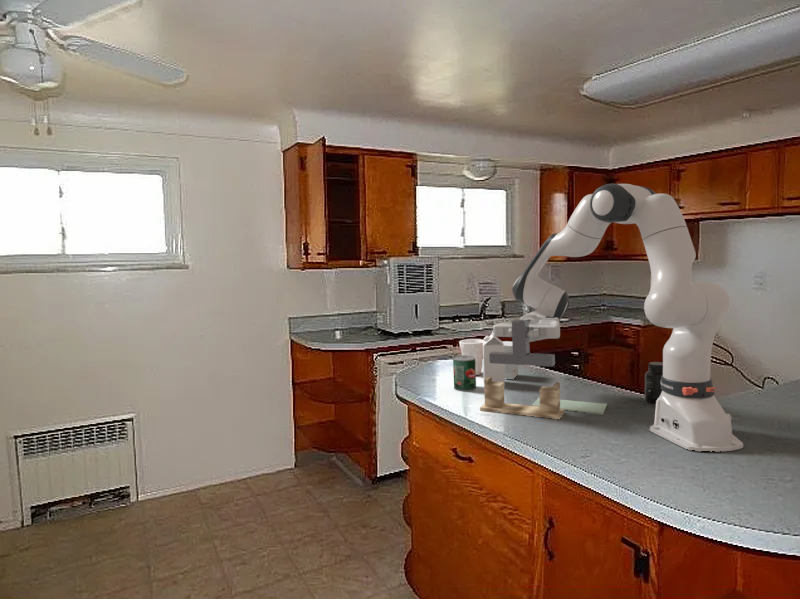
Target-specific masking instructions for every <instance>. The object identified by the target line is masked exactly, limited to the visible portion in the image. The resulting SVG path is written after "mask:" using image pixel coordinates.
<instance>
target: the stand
mask: <svg viewBox="0 0 800 599" xmlns="http://www.w3.org/2000/svg"><path fill="white" fill-rule="evenodd" d="M483 384H484V390H483V391H484V404H483V405H482V406H480V408H479V411H480V412H489V413H496V412H501V413H500V414H505V413H510V414H509V415H513V414H517V415H516V416H522V415H526V416H525V417H531V416H534V418H540V417H545V418H544V419H548V418H552V419H551V420H557V419H559V420H558V421H560V420H561V419H560V418H562V417H563V416H564V414H565V413H566V410H565V409H560V399H561V382H559V381H558V382H555V383H554V384H553V386H546V385H542V386H541V387H540V388H539V397H540V407H538V406H531V405H527V404H518V403H507V402H505V386H504V382H492V377H487V378H486V379H484V378H483ZM564 412H565V413H564ZM562 415H563V416H562Z"/></svg>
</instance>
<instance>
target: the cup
mask: <svg viewBox="0 0 800 599" xmlns="http://www.w3.org/2000/svg"><path fill="white" fill-rule="evenodd" d="M483 341H484V339H481V338H466V339H461V340H459V341H458V344H459V347H460V350H461V356H463V355H467V356H474V357H475V367H476V376H479V375H481V374H482V368H483Z"/></svg>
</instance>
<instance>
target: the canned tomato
mask: <svg viewBox="0 0 800 599" xmlns="http://www.w3.org/2000/svg"><path fill="white" fill-rule="evenodd" d="M452 361H453V362H452V364H453V366H452V368H453V389H454V390H455V391H459V392H470V391H474V390H476V389H477V375H476V367H475V357H474V356H467V355H463V356H462V355H456V356H454V357H452Z"/></svg>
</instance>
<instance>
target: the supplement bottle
mask: <svg viewBox="0 0 800 599" xmlns="http://www.w3.org/2000/svg"><path fill="white" fill-rule="evenodd" d="M662 375H663V361H662V362H661V361H652V362H648V371H646V372H645V374H644V400H645V402H646V403H649V404H652V405H656V401H657V399H658V398H659V397H660V395H661V393H662V390H661V383H660V381H661V376H662Z"/></svg>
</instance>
